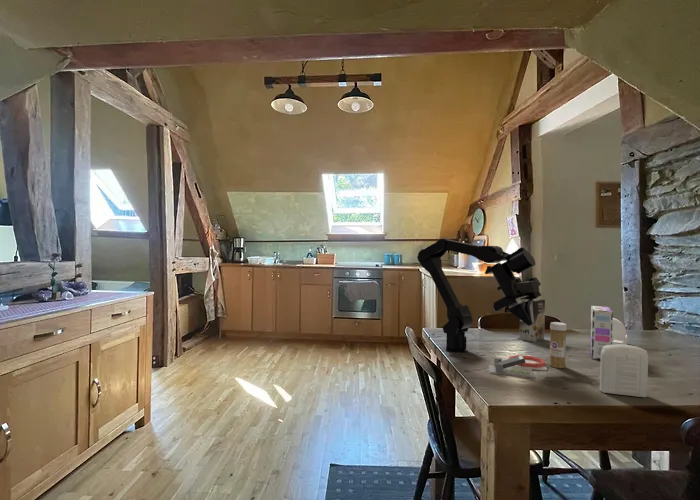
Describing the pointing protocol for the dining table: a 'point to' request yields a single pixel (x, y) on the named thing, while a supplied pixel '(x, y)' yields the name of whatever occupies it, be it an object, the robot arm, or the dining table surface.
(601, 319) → the candy box
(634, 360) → the photo printer
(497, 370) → the panel
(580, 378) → the dining table surface
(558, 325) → the sprinkles bottle
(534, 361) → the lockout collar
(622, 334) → the u-slot stand
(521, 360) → the block
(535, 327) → the coffee box
